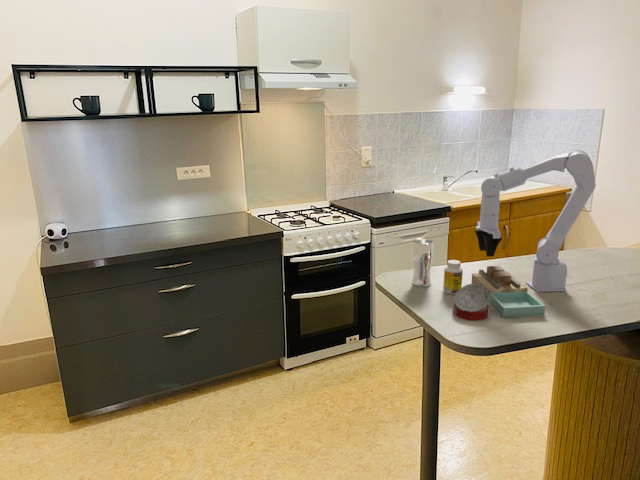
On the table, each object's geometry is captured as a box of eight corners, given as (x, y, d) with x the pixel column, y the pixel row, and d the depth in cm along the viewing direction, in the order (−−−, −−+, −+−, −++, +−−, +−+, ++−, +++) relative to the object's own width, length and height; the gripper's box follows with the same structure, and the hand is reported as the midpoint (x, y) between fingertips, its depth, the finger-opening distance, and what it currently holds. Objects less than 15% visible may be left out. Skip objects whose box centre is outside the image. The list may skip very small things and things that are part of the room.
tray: (526, 300, 149) (527, 291, 148) (544, 315, 139) (545, 305, 138) (488, 302, 148) (488, 293, 148) (503, 317, 138) (503, 308, 137)
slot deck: (506, 283, 163) (508, 268, 161) (526, 300, 149) (528, 284, 148) (471, 284, 162) (472, 270, 161) (487, 301, 149) (489, 286, 147)
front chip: (504, 280, 155) (505, 271, 154) (510, 284, 151) (511, 275, 150) (492, 280, 154) (493, 271, 154) (497, 285, 151) (498, 276, 150)
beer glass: (423, 289, 159) (425, 245, 155) (406, 283, 164) (407, 241, 160) (436, 283, 164) (438, 240, 159) (419, 278, 169) (421, 236, 164)
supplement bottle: (452, 296, 153) (454, 265, 150) (439, 291, 158) (441, 261, 155) (464, 292, 156) (467, 262, 153) (451, 287, 161) (453, 257, 158)
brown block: (498, 274, 159) (499, 265, 159) (503, 278, 156) (504, 270, 155) (486, 275, 159) (487, 266, 158) (491, 279, 155) (492, 270, 154)
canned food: (487, 330, 141) (502, 308, 135) (456, 331, 139) (469, 309, 132) (473, 299, 149) (486, 278, 143) (443, 300, 147) (454, 278, 140)
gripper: (469, 209, 166) (467, 247, 170) (486, 219, 152) (483, 260, 156) (489, 208, 167) (487, 246, 171) (508, 218, 153) (504, 259, 157)
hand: (486, 253), depth 163 cm, fingers open, 6 cm apart
